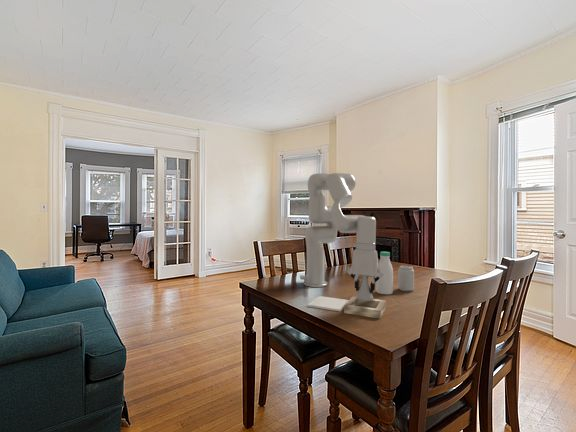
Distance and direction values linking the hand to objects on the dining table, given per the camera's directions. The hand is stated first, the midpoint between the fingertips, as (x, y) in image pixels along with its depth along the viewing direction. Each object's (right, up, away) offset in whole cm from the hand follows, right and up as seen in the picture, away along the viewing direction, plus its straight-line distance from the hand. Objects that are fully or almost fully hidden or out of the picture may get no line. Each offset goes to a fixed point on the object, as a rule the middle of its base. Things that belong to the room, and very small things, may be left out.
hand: (364, 290), depth 126 cm
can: (+28, -7, +30) cm, 42 cm away
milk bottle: (+16, -7, +25) cm, 31 cm away
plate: (-14, -8, +7) cm, 17 cm away
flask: (0, -4, 0) cm, 4 cm away
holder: (0, -8, 0) cm, 8 cm away
